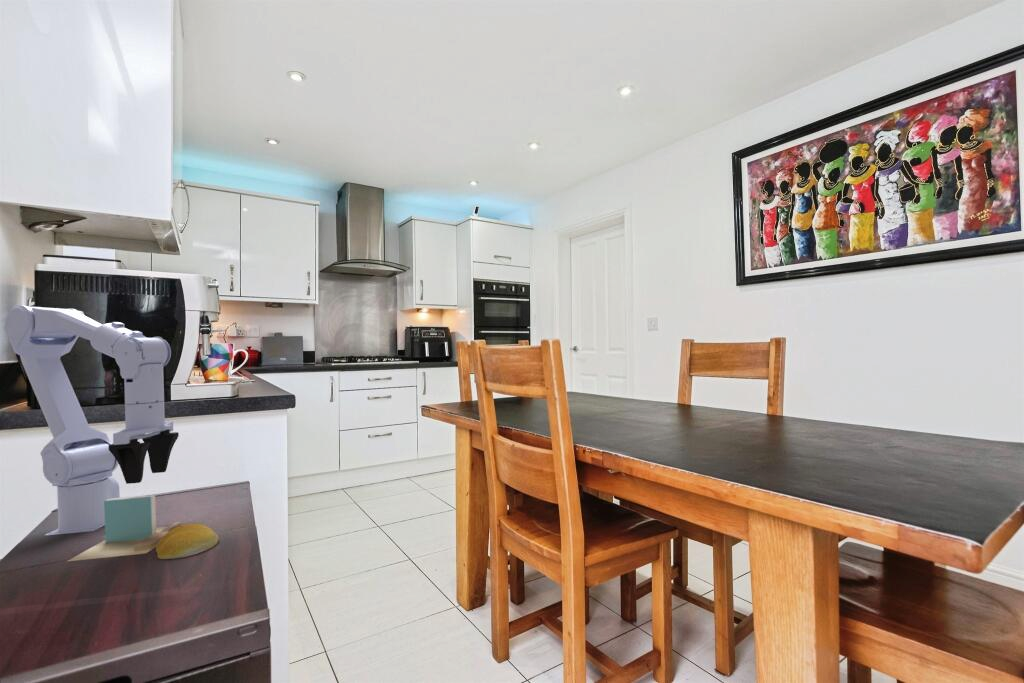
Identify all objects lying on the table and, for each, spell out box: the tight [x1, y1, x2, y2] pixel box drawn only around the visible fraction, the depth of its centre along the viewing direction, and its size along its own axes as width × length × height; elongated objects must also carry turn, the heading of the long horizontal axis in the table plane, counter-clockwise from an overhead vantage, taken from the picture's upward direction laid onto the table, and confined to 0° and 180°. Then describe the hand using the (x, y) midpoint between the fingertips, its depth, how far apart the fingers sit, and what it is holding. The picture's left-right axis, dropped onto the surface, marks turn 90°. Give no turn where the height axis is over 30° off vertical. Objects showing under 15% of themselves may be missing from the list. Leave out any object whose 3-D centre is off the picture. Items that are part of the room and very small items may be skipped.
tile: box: [104, 494, 157, 543], centre depth 82 cm, size 2×7×7 cm, turn 100°
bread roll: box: [155, 523, 219, 560], centre depth 77 cm, size 8×9×4 cm
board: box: [66, 524, 183, 562], centre depth 81 cm, size 13×11×1 cm
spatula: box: [134, 521, 182, 551], centre depth 82 cm, size 11×2×1 cm, turn 10°
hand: (146, 477), depth 87 cm, fingers open, 7 cm apart
